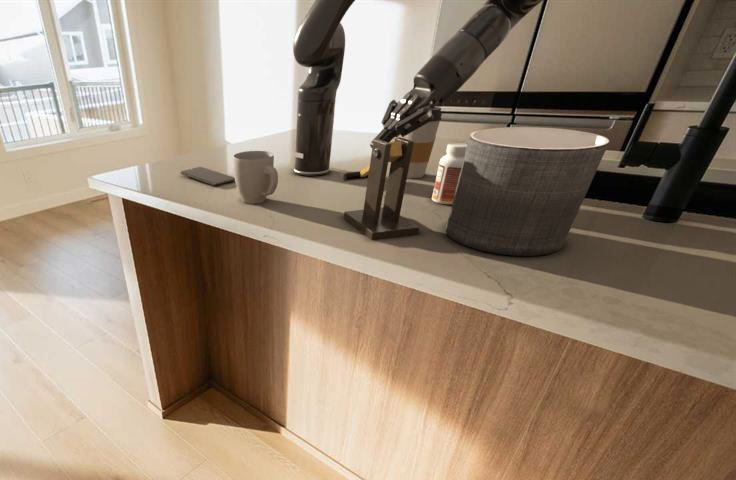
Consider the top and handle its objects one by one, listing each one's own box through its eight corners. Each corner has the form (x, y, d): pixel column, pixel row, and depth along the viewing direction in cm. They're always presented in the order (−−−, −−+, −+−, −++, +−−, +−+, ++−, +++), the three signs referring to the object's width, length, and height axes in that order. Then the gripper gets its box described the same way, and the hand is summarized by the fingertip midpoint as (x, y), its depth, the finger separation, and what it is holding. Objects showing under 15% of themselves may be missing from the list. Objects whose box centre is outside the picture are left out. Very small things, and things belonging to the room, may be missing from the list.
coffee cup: (433, 178, 104) (449, 109, 95) (399, 180, 104) (412, 111, 95) (421, 170, 110) (435, 105, 102) (389, 171, 111) (400, 107, 102)
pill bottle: (469, 201, 89) (485, 144, 83) (451, 207, 86) (467, 149, 80) (442, 194, 93) (455, 140, 87) (424, 200, 91) (437, 144, 84)
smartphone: (213, 183, 106) (179, 171, 117) (213, 187, 107) (179, 175, 117) (236, 177, 110) (201, 166, 120) (236, 181, 111) (201, 170, 121)
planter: (423, 226, 78) (445, 133, 69) (502, 213, 82) (532, 123, 73) (499, 264, 64) (539, 154, 55) (590, 247, 68) (642, 140, 59)
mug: (226, 200, 98) (224, 155, 92) (256, 192, 102) (256, 148, 96) (260, 212, 90) (260, 164, 84) (290, 203, 94) (292, 156, 88)
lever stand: (343, 218, 84) (352, 137, 76) (385, 213, 85) (399, 132, 77) (371, 239, 75) (385, 149, 66) (418, 234, 76) (438, 144, 67)
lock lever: (343, 184, 84) (342, 172, 84) (376, 181, 85) (375, 168, 85) (377, 157, 71) (375, 143, 71) (415, 154, 72) (414, 139, 72)
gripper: (417, 52, 80) (348, 129, 85) (462, 53, 69) (379, 141, 75) (436, 83, 83) (368, 155, 89) (481, 89, 73) (401, 170, 78)
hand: (373, 148), depth 82 cm, fingers closed
